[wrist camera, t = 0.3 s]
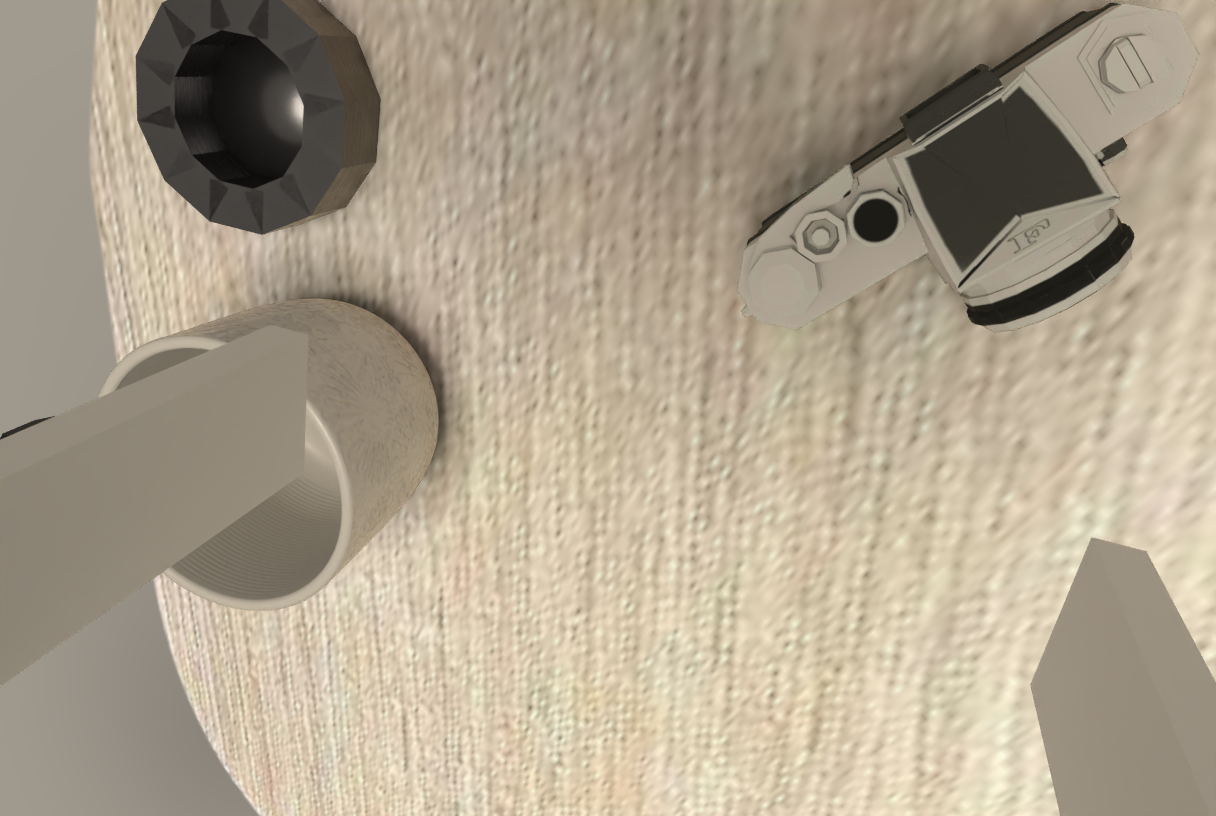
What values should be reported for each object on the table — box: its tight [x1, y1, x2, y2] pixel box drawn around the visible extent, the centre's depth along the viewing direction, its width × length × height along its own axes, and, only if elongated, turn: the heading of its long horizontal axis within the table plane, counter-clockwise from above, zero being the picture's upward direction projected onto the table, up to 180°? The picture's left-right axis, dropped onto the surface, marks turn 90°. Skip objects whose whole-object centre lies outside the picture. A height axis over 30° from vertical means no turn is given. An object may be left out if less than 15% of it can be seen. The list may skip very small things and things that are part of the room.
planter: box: [98, 298, 439, 611], centre depth 43 cm, size 12×12×11 cm
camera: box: [737, 3, 1199, 332], centre depth 33 cm, size 16×9×10 cm, turn 126°
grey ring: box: [136, 0, 380, 235], centre depth 43 cm, size 10×10×3 cm
